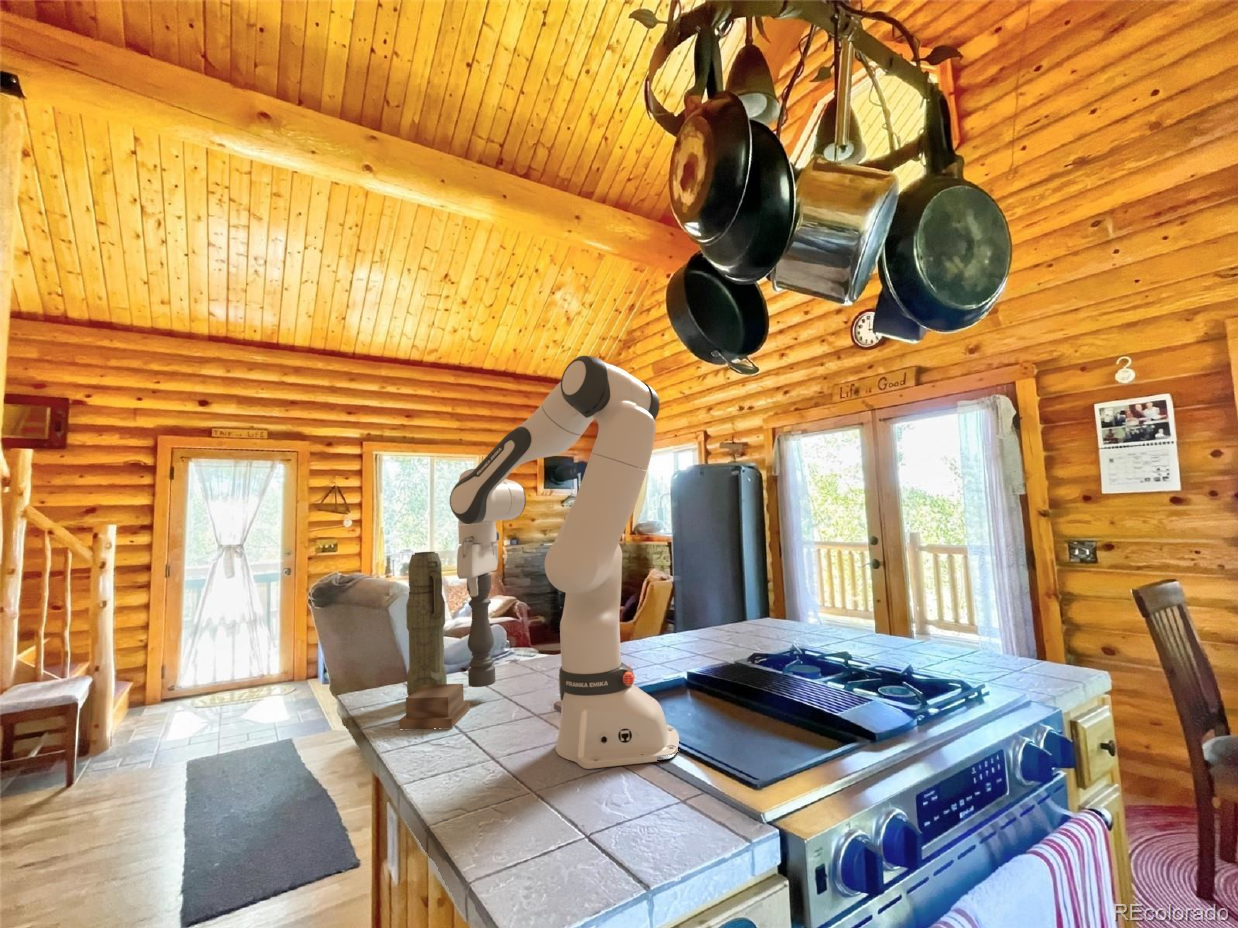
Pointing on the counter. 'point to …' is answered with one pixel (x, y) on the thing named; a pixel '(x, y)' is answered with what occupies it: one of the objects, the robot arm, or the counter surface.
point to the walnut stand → (435, 707)
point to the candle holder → (481, 637)
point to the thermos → (425, 622)
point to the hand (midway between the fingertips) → (479, 593)
